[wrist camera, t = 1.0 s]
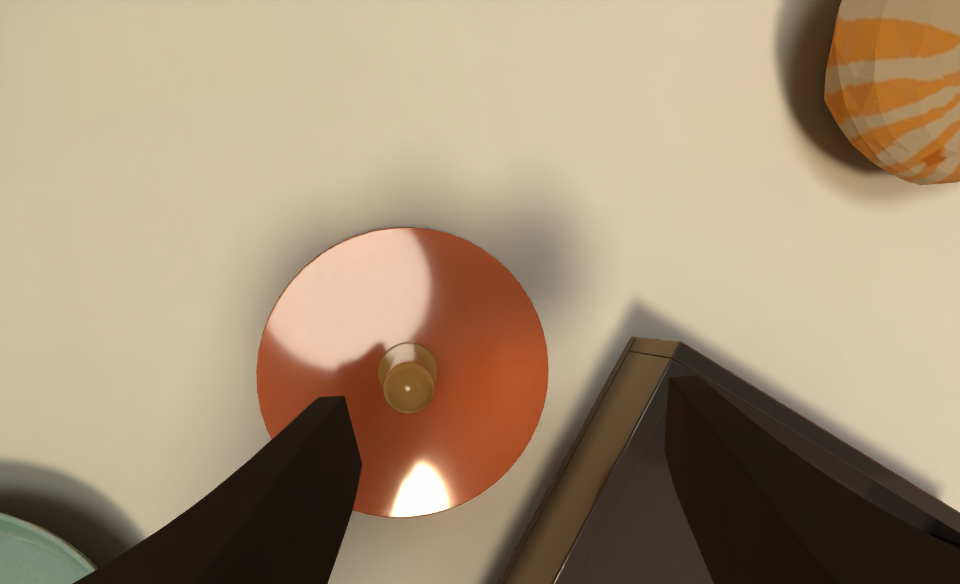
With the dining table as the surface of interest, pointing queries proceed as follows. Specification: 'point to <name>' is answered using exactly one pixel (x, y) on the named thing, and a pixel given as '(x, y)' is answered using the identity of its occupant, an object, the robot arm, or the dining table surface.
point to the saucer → (38, 555)
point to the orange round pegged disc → (410, 364)
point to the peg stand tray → (649, 487)
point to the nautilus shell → (899, 85)
